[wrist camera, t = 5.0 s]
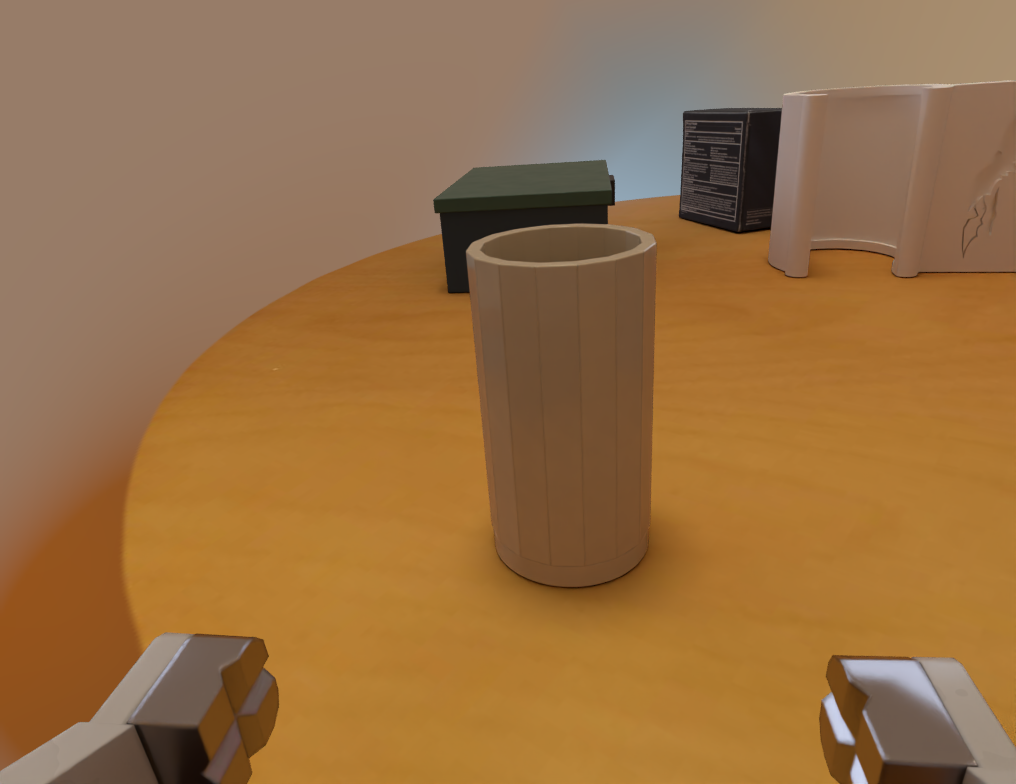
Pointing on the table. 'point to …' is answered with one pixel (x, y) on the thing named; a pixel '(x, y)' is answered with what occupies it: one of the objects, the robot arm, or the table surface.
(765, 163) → the small box
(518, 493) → the cup
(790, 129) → the bracket
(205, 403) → the table surface
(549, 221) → the box
